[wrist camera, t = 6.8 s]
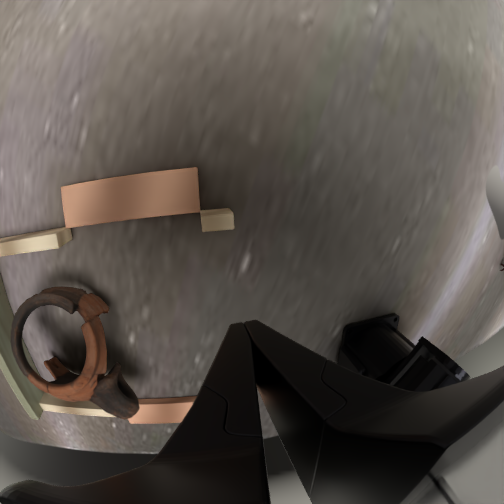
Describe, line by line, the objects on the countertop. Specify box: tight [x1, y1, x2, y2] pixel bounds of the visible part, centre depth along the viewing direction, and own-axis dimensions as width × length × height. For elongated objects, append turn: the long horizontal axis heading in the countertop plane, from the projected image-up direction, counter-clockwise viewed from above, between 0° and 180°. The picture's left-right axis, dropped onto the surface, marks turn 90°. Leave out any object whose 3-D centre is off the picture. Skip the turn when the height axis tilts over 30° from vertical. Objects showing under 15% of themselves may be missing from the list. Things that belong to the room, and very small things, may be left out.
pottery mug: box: [10, 287, 140, 419], centre depth 18 cm, size 12×10×8 cm
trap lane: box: [0, 167, 234, 423], centre depth 18 cm, size 22×23×4 cm
